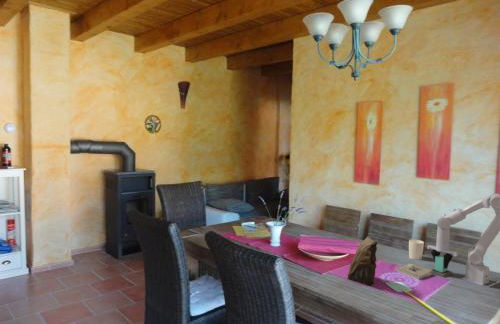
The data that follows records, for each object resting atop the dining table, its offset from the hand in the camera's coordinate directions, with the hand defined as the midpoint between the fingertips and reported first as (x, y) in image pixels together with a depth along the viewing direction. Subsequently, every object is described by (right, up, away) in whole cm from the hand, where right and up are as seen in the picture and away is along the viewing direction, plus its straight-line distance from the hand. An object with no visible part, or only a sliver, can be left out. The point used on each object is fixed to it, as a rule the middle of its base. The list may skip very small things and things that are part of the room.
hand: (441, 266), depth 184 cm
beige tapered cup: (-2, -3, +24) cm, 25 cm away
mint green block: (0, -2, 0) cm, 2 cm away
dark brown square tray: (0, -4, 0) cm, 4 cm away
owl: (-44, -4, -10) cm, 45 cm away
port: (-14, -4, -1) cm, 15 cm away
